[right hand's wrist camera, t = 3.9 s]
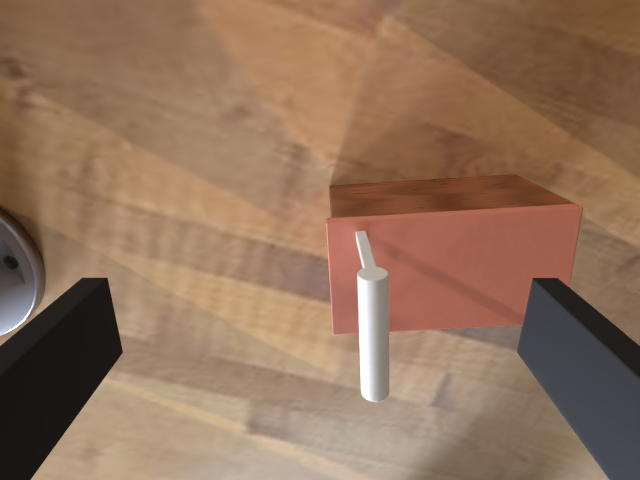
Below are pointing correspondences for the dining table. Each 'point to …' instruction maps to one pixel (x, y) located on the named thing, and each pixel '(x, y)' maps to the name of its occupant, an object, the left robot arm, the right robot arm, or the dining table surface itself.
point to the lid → (440, 273)
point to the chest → (438, 196)
